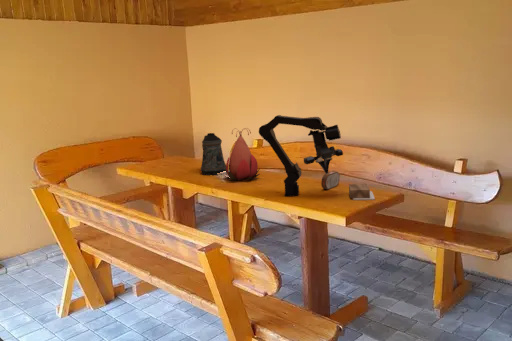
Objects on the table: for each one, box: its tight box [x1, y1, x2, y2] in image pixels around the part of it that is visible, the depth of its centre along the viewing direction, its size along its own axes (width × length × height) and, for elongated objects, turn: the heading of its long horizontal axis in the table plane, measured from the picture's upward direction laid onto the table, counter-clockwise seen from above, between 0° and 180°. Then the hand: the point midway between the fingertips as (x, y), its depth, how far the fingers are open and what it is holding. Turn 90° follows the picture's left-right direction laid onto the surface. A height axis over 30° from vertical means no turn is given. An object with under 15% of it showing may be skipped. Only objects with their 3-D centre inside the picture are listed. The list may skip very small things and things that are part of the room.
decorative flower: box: [224, 127, 261, 182], centre depth 280 cm, size 22×23×30 cm
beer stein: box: [200, 132, 226, 176], centre depth 303 cm, size 16×19×25 cm
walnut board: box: [348, 183, 371, 199], centre depth 234 cm, size 4×12×9 cm
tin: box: [320, 170, 341, 190], centre depth 252 cm, size 15×3×8 cm, turn 141°
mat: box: [352, 190, 376, 201], centre depth 234 cm, size 10×14×1 cm
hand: (326, 173), depth 236 cm, fingers closed
